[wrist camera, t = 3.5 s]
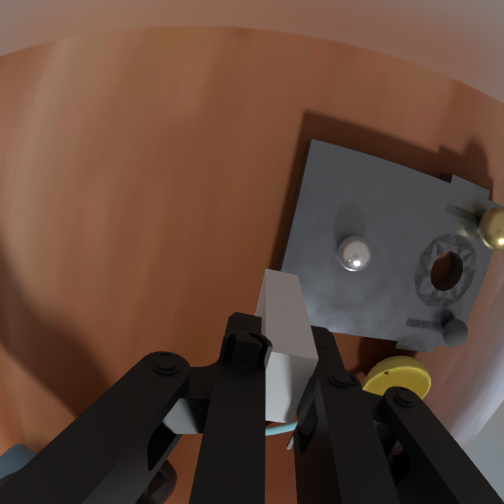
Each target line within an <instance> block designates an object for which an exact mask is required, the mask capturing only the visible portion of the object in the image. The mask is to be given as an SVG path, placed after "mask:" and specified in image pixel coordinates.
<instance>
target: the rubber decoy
mask: <svg viewBox="0 0 504 504" xmlns="http://www.w3.org/2000/svg"><path fill="white" fill-rule="evenodd" d="M467 335H468V329H467V326H466V324H465V323H464V322H463V321H462V320H459V319H453V320H451V321H449V322H448V323H447V324H446V325H445V327H444V329H443V339H444V341H445V343H446V344H447V345H449V346H452V347H456V346H459V345H461V344H462V343H463V342H464V341H465V340H466V338H467Z"/></svg>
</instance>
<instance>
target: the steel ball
mask: <svg viewBox="0 0 504 504" xmlns="http://www.w3.org/2000/svg"><path fill="white" fill-rule="evenodd" d="M338 259H339V262H340V263H341V265H342V266H343V267H344V268H346V269H347V270H350V271H360V270H362V269H364V268H366V267H367V266H368V265H369V263H370V261H371V259H372V248H371V246H370V244H369V243H368V241H367V240H366V239H364V238H362V237H360V236H350V237H348V238H346V239H344V240H343V241H342V242H341V244H340V246H339V248H338Z"/></svg>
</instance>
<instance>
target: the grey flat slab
mask: <svg viewBox="0 0 504 504" xmlns="http://www.w3.org/2000/svg"><path fill="white" fill-rule="evenodd" d="M489 194H490V191H489V190H487V189H485V188H483V187H480V186H478V185H476V184H474V183H472V182H469V181H467V180H465V179H463V178H460V177H458V176H456V175H453V174H447V173H441V176H440V179H438V178H435V177H432V176H430V175H427V174H424V173H422V172H419V171H416V170H413V169H411V168H408V167H405V166H402V165H399V164H396V163H393V162H390V161H387V160H384V159H381V158H378V157H375V156H372V155H368V154H365V153H362V152H358V151H355V150H352V149H348V148H345V147H341V146H337V145H334V144H330V143H326V142H323V141H319V140H315V139H310V140H308V143H307V147H306V152H305V156H304V161H303V165H302V170H301V174H300V179H299V183H298V187H297V192H296V196H295V200H294V205H293V209H292V213H291V218H290V222H289V226H288V230H287V234H286V239H285V243H284V247H283V251H282V255H281V259H280V263H279V267H278V271H280V272H285V273H290V274H295V275H298V278H299V282H300V286H301V290H302V294H303V298H304V302H305V306H306V310H307V314H308V318H309V322H310V325H313V326H319V327H325V328H327V329H328V330H329V331H331V332H337V333H344V334H350V335H357V336H364V337H371V338H379V339H386V340H390V341H391V343H392V344H393V346H394V348H396V349H405V350H414V351H425V352H434V349H435V347H436V345H438V346H448V347H452V346H449V345H447V344H446V343H445V341H444V339H443V329H444V327H445V325H446V324H447V323H448V322H449V321H451V320H453V319H459V320H462V321H463V322H464V323H466V321H467V319H468V316H469V314H470V312H471V309H472V307H473V305H474V302H475V300H476V297H477V295H478V292H479V290H480V287H481V284H482V282H483V279H484V276H485V273H486V270H487V268H488V265H489V262H490V259H491V255H492V252H493V250H491V249H489V248H488V247H487V246H485V244H484V243H483V242H482V240H481V238H480V234H479V223H480V219H481V217H482V216H483V214H484V213H485V212H486V211H487V210H489V209H491V208H494V207H500V208H503V209H504V207H503V206H501V205H499V204H496V203H494V202H492V201H490V200H488V199H489ZM350 236H360V237H362V238H364V239H366V240H367V241H368V243H369V244H370V246H371V248H372V259H371V261H370V263H369V265H368V266H367V267H366V268H364V269H362V270H360V271H350V270H347V269H346V268H344V267H343V266H342V265H341V263H340V262H339V259H338V248H339V246H340V244H341V242H342V241H343V240H344V239H346V238H348V237H350ZM449 251H450V252H451V254H452V262H453V264H452V267H451V270H450V272H449V274H448V275H447V276H446V277H445V278H444V279H443V280H442V281H440V282H437V283H431V276H430V273H431V270H432V267H433V264H434V262H435V261H436V260H437V259H438V258H439V256H440V255H441V254H444V253H447V252H449Z"/></svg>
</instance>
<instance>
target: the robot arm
mask: <svg viewBox="0 0 504 504" xmlns="http://www.w3.org/2000/svg"><path fill="white" fill-rule="evenodd" d="M296 413H297V419H298V423H297V425H296V427H295V430H294V432H293V434H292V436H291V438H290V440H289V442H288V444H287V450H290V448H291V446H292V444H293V443H294V456H295V472H296V488H297V504H504V502H503V501H502V499H501V498H500V497H499V496H498V494H497V493H496V491H495V490H494V489H493V488H492V486H491V485H490V484H489V482H488V481H487V480H486V479H485V477H484V476H483V475H482V473H481V472H480V471H479V470H478V468H477V467H476V466H475V465H474V463H473V462H472V461H471V459H470V458H469V457H468V456H467V455H466V453H465V452H464V451H463V449H462V448H461V447H460V446H459V444H458V443H457V442H456V441H455V440H454V438H453V437H452V436H451V435H450V433H449V432H448V431H447V430H446V428H445V427H444V426H443V425H442V424H441V422H440V421H439V420H438V419H437V418H436V416H435V415H434V414H433V413H432V411H431V410H430V409H429V408H428V407H427V405H426V404H425V403H424V402H423V401H422V399H421V398H420V397H419V396H418V395H417V394H416V393H415V392H413V391H411V390H409V389H408V388H404V387H401V386H393V387H390V388H388V389H387V390H386V391H385V393H384V395H383V396H381V395H377V394H374V393H371V392H368V391H365V390H363V389H362V386H361V384H360V382H359V380H358V378H357V377H356V376H354V375H353V374H352V373H351V372H348V371H346V370H345V368H344V365H343V362H342V359H341V356H340V353H339V351H338V347H337V345H336V341H335V338H334V336H333V334H332V333H331V332H330V331H329V330H328V329H327V328H325V327H319V326H313V325H310V322H309V318H308V314H307V310H306V306H305V302H304V298H303V294H302V290H301V286H300V282H299V278H298V275H295V274H290V273H285V272H280V271H275V270H270V269H266V270H265V274H264V278H263V283H262V287H261V291H260V295H259V299H258V303H257V308H256V312H255V316H254V315H249V314H244V313H239V312H235V313H234V314H232V315H231V316H230V317H229V318H228V323H227V327H226V332H225V336H224V337H223V342H222V347H221V352H220V357H219V359H218V360H217V361H216V362H215V363H213V364H211V365H208V366H205V367H190V365H189V363H188V362H187V361H186V360H185V359H184V358H183V357H181V356H179V355H178V354H175V353H171V352H163V351H158V352H153V353H150V354H148V355H146V356H145V357H143V358H142V359H141V360H140V361H139V362H138V363H137V364H136V365H135V366H134V367H132V368H131V369H130V370H129V371H128V372H127V373H126V374H125V375H124V376H123V377H122V378H120V379H119V380H118V381H117V382H116V383H115V384H114V385H113V386H112V387H111V388H109V389H108V390H107V391H106V392H105V393H104V394H103V395H102V396H101V397H100V398H98V399H97V400H96V401H95V402H94V403H93V404H92V405H91V406H90V407H89V408H88V409H86V410H85V411H84V412H83V413H82V414H81V415H80V416H79V417H78V418H77V419H75V420H74V421H73V422H72V423H71V424H70V425H69V426H68V427H67V428H66V429H64V430H63V431H62V432H61V433H60V434H59V435H58V436H57V437H56V438H54V439H53V440H52V441H51V442H50V443H49V444H48V445H47V446H46V447H45V448H43V449H42V450H41V451H40V452H39V453H38V454H36V453H35V452H33V451H32V450H31V449H29V448H28V447H27V446H25V445H22V444H16V445H14V446H12V447H11V448H9V449H8V450H7V451H6V452H5V453H4V454H3V455H1V456H0V504H164V503H165V501H166V500H167V499H168V498H169V496H170V495H171V494H172V492H173V491H174V489H175V485H176V481H177V475H176V473H175V471H174V470H173V468H172V467H171V466H170V465H169V464H168V463H167V462H165V460H166V459H167V457H168V456H169V454H170V453H171V451H172V450H173V448H174V447H175V445H176V444H177V443H178V441H179V440H180V438H181V436H182V434H198V433H203V437H202V442H201V447H200V452H199V456H198V461H197V466H196V471H195V476H194V481H193V486H192V490H191V495H190V500H189V504H265V434H266V420H268V421H275V422H283V423H291V424H292V422H293V420H294V418H295V415H296ZM399 442H400V444H401V445H402V447H403V448H404V449H403V451H402V452H401V453H400V454H398V453H397V452H396V451H395V447H396V446H397V445H398V443H399Z"/></svg>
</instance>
